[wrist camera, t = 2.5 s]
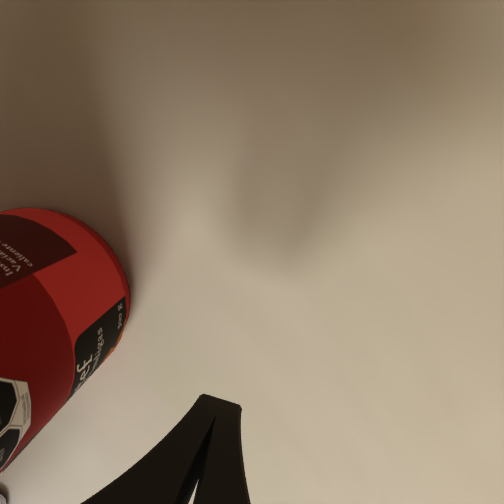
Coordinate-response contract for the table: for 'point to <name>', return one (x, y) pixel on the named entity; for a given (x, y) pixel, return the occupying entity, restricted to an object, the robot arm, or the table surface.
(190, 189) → the table surface
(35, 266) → the canned food
